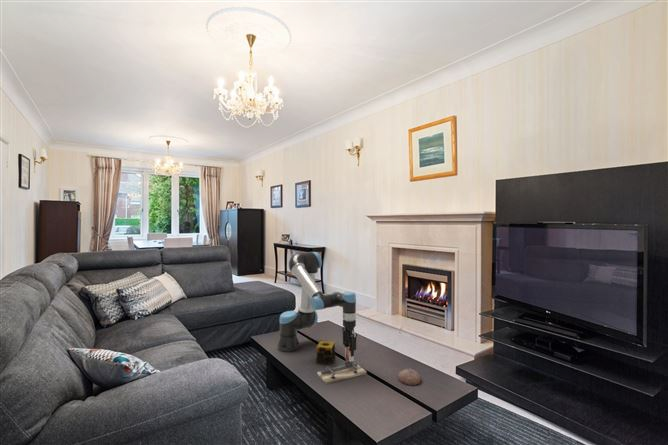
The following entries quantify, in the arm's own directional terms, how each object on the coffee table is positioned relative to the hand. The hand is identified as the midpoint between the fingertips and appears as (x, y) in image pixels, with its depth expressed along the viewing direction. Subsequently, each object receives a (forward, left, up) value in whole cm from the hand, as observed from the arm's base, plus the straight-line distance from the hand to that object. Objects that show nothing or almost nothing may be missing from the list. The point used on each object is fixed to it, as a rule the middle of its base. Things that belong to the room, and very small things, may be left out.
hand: (349, 359), depth 187 cm
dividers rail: (+4, -7, -4) cm, 9 cm away
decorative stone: (+26, +23, -6) cm, 35 cm away
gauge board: (+3, -6, -6) cm, 9 cm away
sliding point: (+3, 0, -4) cm, 5 cm away
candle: (-17, -7, -6) cm, 19 cm away
